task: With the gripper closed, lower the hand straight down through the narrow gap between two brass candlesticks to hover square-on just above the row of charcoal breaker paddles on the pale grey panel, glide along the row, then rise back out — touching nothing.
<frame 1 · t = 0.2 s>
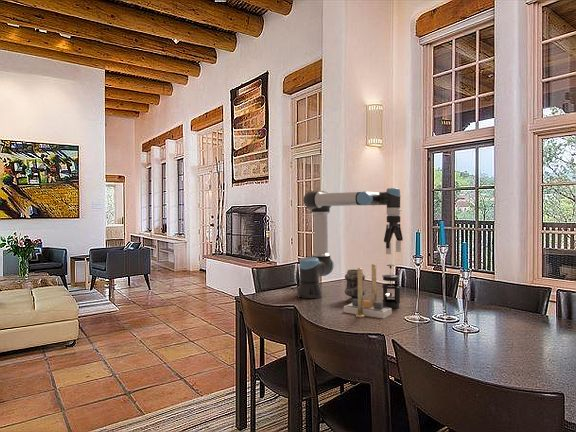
hand: (393, 253, 236), 28 cm above the table, tool pointing down, fingers open, 13 cm apart
paddle mid: (367, 303, 214), point 5 cm above the table, hinge at 0.0°
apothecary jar: (355, 301, 242), on the table
panel: (367, 313, 214), on the table
candlestick 1: (360, 316, 208), on the table
paddle far: (378, 305, 211), point 5 cm above the table, hinge at 0.0°
candlestick 2: (374, 309, 221), on the table
black lantern: (391, 307, 226), on the table
paddle near base: (356, 302, 218), point 5 cm above the table, hinge at 0.0°
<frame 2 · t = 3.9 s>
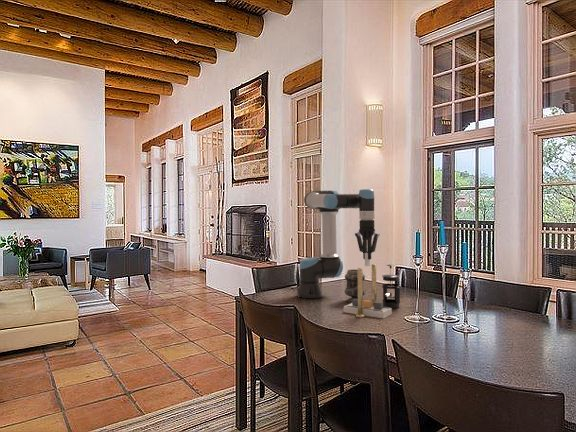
hand: (367, 265, 213), 24 cm above the table, tool pointing down, fingers closed
nothing on the table moved.
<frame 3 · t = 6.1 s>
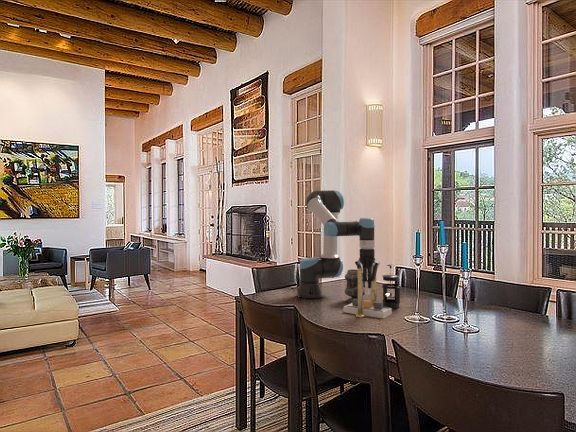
hand: (367, 294, 214), 10 cm above the table, tool pointing down, fingers closed
nothing on the table moved.
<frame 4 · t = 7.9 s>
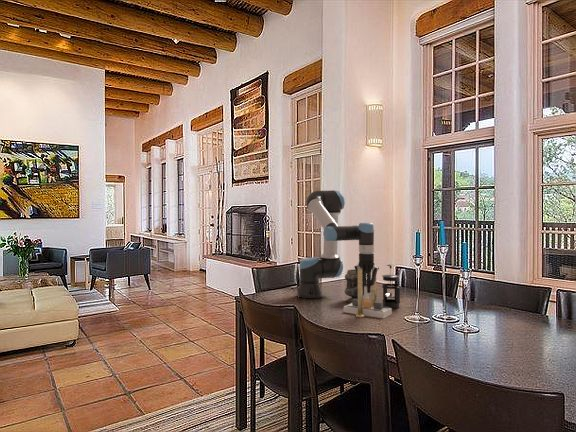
hand: (366, 298, 214), 7 cm above the table, tool pointing down, fingers closed
nothing on the table moved.
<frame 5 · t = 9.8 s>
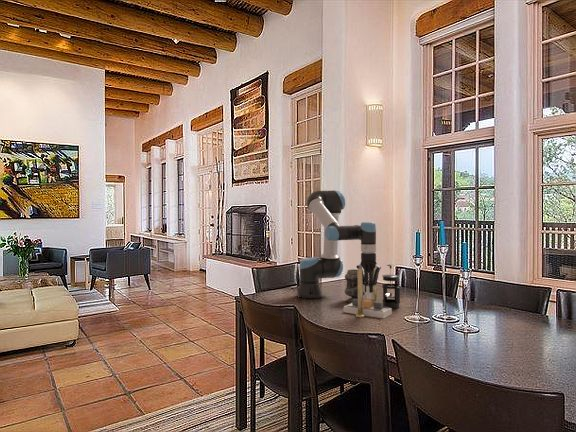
hand: (368, 298, 213), 8 cm above the table, tool pointing down, fingers closed
nothing on the table moved.
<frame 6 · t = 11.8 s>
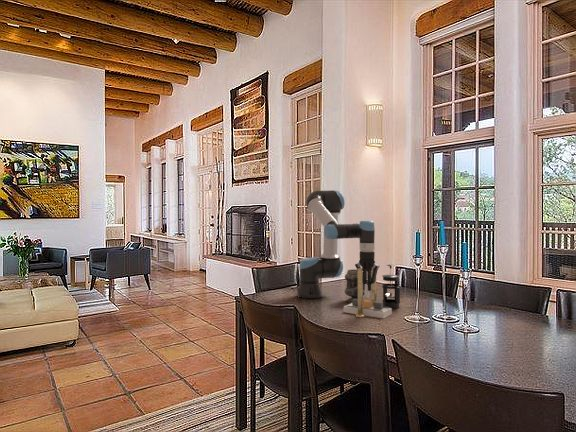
hand: (367, 296, 214), 8 cm above the table, tool pointing down, fingers closed
nothing on the table moved.
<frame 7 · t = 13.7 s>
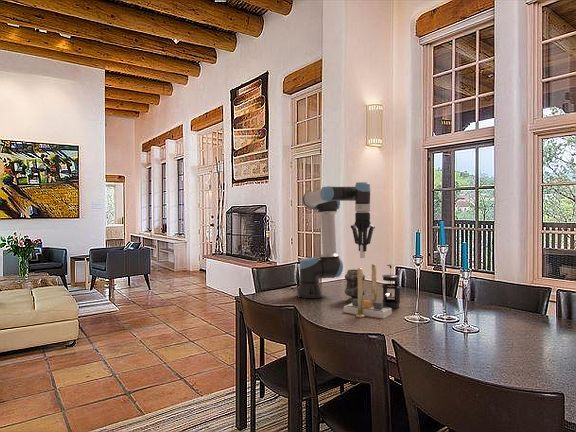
hand: (362, 257, 217), 28 cm above the table, tool pointing down, fingers closed
nothing on the table moved.
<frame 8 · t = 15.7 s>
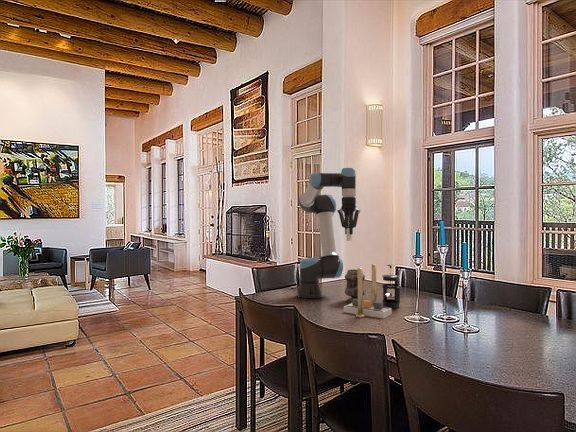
hand: (349, 240, 225), 36 cm above the table, tool pointing down, fingers closed
nothing on the table moved.
at the end: candlestick 2 tilted 0°; candlestick 1 tilted 0°; paddle mid at +0° (first picture: +0°) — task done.
